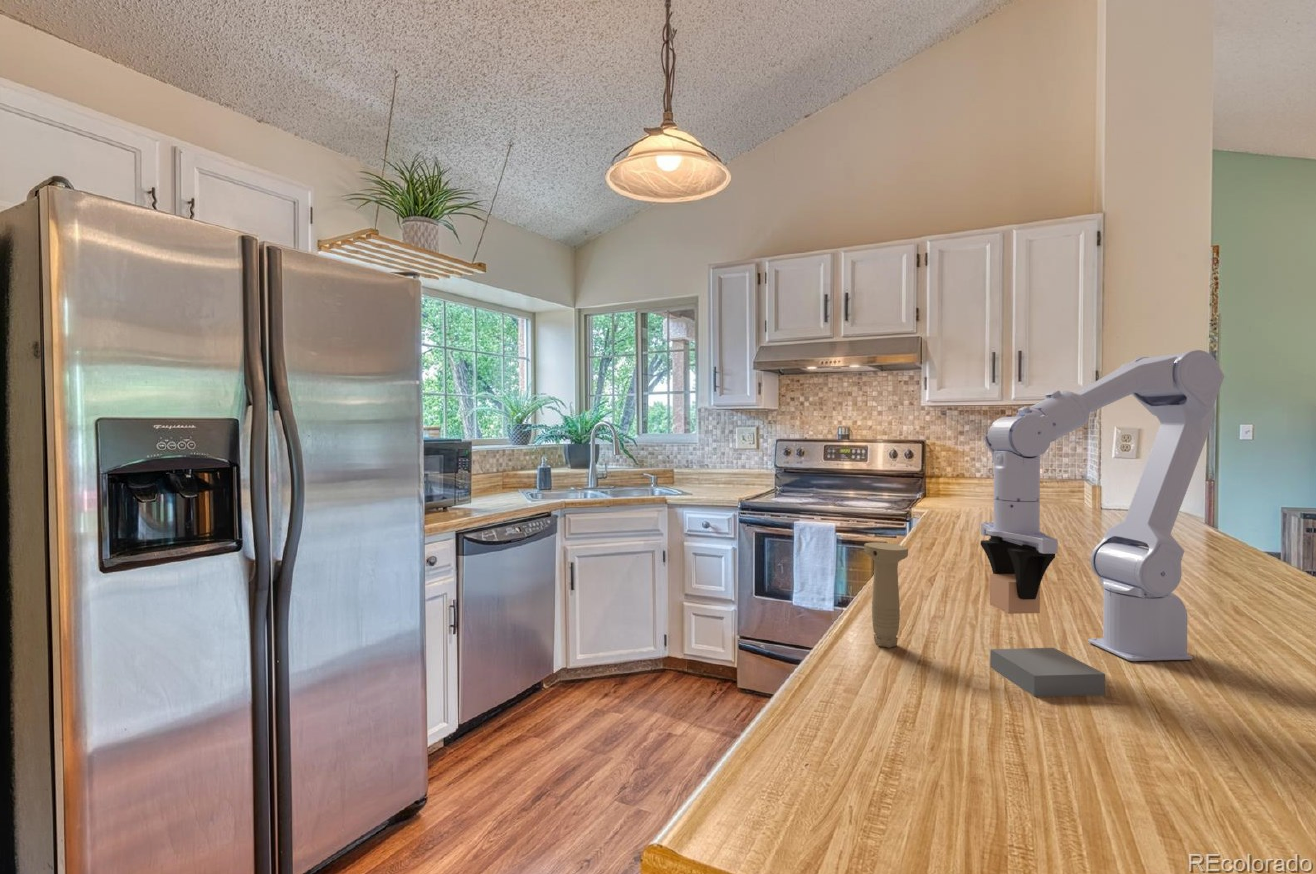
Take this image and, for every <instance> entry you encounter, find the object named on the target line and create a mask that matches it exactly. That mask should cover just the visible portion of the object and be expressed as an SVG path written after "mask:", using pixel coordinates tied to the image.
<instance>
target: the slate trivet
mask: <svg viewBox="0 0 1316 874" xmlns="http://www.w3.org/2000/svg"><path fill="white" fill-rule="evenodd" d="M989 652H990V656H989V657H990V665H989V666H990V667H991V668H993V669H994V670H995V671H994V670H993V669H992V670H993V671H994V672H996V673H997V672H998V673H997V674H999V673H1000V674H1001V675H1000V674H999V675H1000V676H1002V677H1003V678H1005V679H1006V678H1007V679H1006V680H1008V681H1009V682H1011V683H1012V684H1014V685H1016V686H1017V687H1018V688H1021V690H1023V691H1025V692H1026V693H1028V694H1029V693H1030V694H1029V695H1031V694H1032V695H1033V697H1034V698H1036V697H1038V696H1039V697H1041V696H1042V697H1043V696H1044V697H1045V698H1046V697H1074V696H1075V697H1076V696H1077V697H1078V696H1079V697H1081V696H1105V695H1106V673H1104V672H1102V671H1100V670H1098V669H1096V668H1095V667H1093V666H1091V665H1089V664H1087V663H1085V662H1082V661H1081V660H1078V659H1077V658H1074V657H1072V655H1069V654H1067V653H1065V652H1063V651H1061V650H1059V649H1058V648H1055V647H1031V648H1029V647H1025V648H990V651H989ZM991 668H990V669H991ZM1032 695H1031V696H1032ZM1039 697H1038V698H1039ZM1044 697H1043V698H1044Z"/></svg>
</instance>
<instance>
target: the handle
mask: <svg viewBox="0 0 1316 874" xmlns="http://www.w3.org/2000/svg"><path fill="white" fill-rule="evenodd" d="M863 547H864V549H863V550H864V553H865V554H866V555H868V556H869V557H870V558H872V560H873V566H874V567H873V585H872V599H871V600H872V601H871V618H872V619H871V620H872V621H871V622H872V629H873V630H872V631H873V640H874V643H875V644H876V645H877V646H878V647H881V648H883V647H884V648H887V649H888V648H889V649H891V648H894V647H896V646H897V645H898V641H899V640H898V639H899V638H898V637H897V636H898V635H899V628H900V619H901V618H900V616H901V614H900V611H901V610H900V609H901V608H900V607H901V603H900V593H899V590H900V589H899V573H898V568H899V562H900V561H902V560H905V559H906V558H907V557H908V556H909V548H908V547H906V546H904V545H900V544H895V543H889V542H881V541H880V542H876V541H875V542H866V543H864V544H863Z"/></svg>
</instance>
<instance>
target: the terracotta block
mask: <svg viewBox="0 0 1316 874" xmlns="http://www.w3.org/2000/svg"><path fill="white" fill-rule="evenodd" d="M1040 596H1041V585H1040V586H1039V590H1038V593H1037V596H1036V599H1025V600H1023V599H1020V598H1019V597H1018V594H1017V587H1016V575H1015V574H993V573H989V605H990V606H992V607H994V608H996V609H998V610H1000V611H1002V612H1004V613H1006V614H1008V615H1009V614H1013V615H1014V614H1015V615H1016V614H1019V615H1020V614H1040V612H1041V603H1040V602H1041V597H1040Z"/></svg>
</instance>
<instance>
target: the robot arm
mask: <svg viewBox="0 0 1316 874" xmlns="http://www.w3.org/2000/svg"><path fill="white" fill-rule="evenodd" d="M1224 379H1225V375H1224V373H1223V371H1222V369H1221V367H1220V366H1219V364H1218V362H1217V361H1216V358H1215V357H1214V356H1213V355H1212V354H1211V353H1209V352H1208V351H1204V350H1200V349H1199V350H1198V349H1195V350H1193V349H1192V350H1189V351H1187V352H1181V353H1179V352H1178V353H1173V354H1165V355H1159V356H1158V355H1157V356H1151V357H1150V356H1141V357H1139V358H1136V359H1134V360H1132V361H1129V362H1126V363H1123V364H1121V365H1120V367H1118V368H1117V369H1115V370H1113V371H1111V372H1110V373H1108V374H1106V375H1105V376H1103V377H1101V378H1099V379H1097V380H1096V381H1094V382H1092V383H1091V384H1089V385H1087V386H1086V387H1084V388H1082V389H1080V390H1078V391H1076V392H1073V391H1069V390H1061V391H1060V390H1052V391H1049V392H1047V393H1046V394H1045V399H1043V400H1041V401H1039V402H1037V403H1035V404H1033V405H1030V406H1022V407H1020V408H1018V409H1017V411H1018V412H1017V413H1016V415H1015V416H1002V417H1000V418H997V419H996V420H994V421H993V422H992V424H991V426H990V427H989V429H988V432H987V434H985V435H984V441H985V444H986V447H987V449H988V450H989V451H990V454H991V457H992V459H991V461H992V462H991V463H993V521H991V522H980V536H983V537H986V536H987V537H988V536H989V537H990V538H989V539H988V540H987V539H983V540H980V546H981V548H982V549H983V551H984V552H985V555H986V556H987V559H988V562H989V563H990V564H989V565H990V567H991V570H992V574H1015V575H1016V587H1017V594H1018V597H1019V598H1020V599H1023V600H1025V599H1036V596H1037V593H1038V590H1039V586H1040V587H1041V583H1042V580H1043V577H1044V575H1045V574H1046V571H1047V569H1048V568H1049V566H1050V564H1051V563H1052V561H1054V559H1055V558H1056V554H1059V553H1058V548H1059V547H1058V544H1059V543H1058V542H1059V541H1058V538H1055V537H1051V536H1050V535H1048V534H1046V533H1044V532H1042V531H1040V529H1041V528H1040V525H1041V524H1040V523H1041V522H1040V519H1041V518H1040V517H1041V515H1040V511H1041V510H1040V509H1041V508H1040V506H1041V504H1040V501H1041V499H1040V498H1041V494H1040V493H1041V487H1040V486H1041V485H1040V484H1041V455H1044V454H1045V453H1046V452H1047V451H1048V449H1049V447H1050V446H1051V443H1052V442H1054V441H1056V440H1059V439H1060V438H1062V437H1064V436H1066V435H1068V434H1070V433H1072V432H1074V431H1076V430H1079V429H1080V428H1082V427H1083V426H1085V425H1086V424H1088V422H1089V420H1090V417H1091V416H1090V415H1091V413H1093V412H1095V411H1097V410H1099V409H1102V408H1103V407H1106V406H1108V405H1110V404H1113V403H1114V402H1117V401H1119V400H1122V399H1124V398H1126V397H1128V396H1130V395H1132V396H1133V397H1134V398H1135V399H1136V400H1137V402H1139V403H1140V404H1141V405H1142V406H1143V407H1144V408H1145V409H1147V410H1148V412H1149V413H1150V414H1151V415H1153V416H1155V417H1156V418H1157V419H1158V421H1159V422H1160V426H1159V428H1158V430H1157V434H1156V435H1155V439H1154V441H1153V443H1152V447H1151V450H1150V453H1149V454H1148V457H1147V460H1146V463H1145V466H1144V468H1143V470H1142V473H1141V476H1140V478H1139V482H1138V484H1137V486H1136V489H1135V491H1134V494H1133V497H1132V500H1131V502H1130V505H1129V507H1128V510H1127V513H1126V516H1125V518H1124V520H1122V521H1120V522H1119V523H1117V524H1115V525H1113V526H1112V527H1110V528H1108V529H1106V532H1105V534H1104V536H1103V538H1102V540H1101V541H1099V543H1097V545H1096V546H1095V547H1094V548H1093V550H1092V552H1091V554H1090V567H1091V570H1092V572H1093V573H1094V574H1095V575H1096V577H1098V578H1099V585H1100V586H1103V592H1102V593H1103V598H1102V600H1103V603H1102V604H1103V605H1102V606H1103V609H1102V610H1103V612H1102V614H1103V616H1102V637H1101V638H1098V637H1097V638H1088V639H1087V642H1088V643H1089V644H1092V645H1093V646H1096V647H1098V648H1101V649H1102V650H1105V651H1107V652H1110V653H1112V654H1114V655H1116V656H1118V657H1120V658H1123V659H1124V660H1127V661H1130V662H1138V661H1139V662H1141V661H1142V662H1144V661H1145V662H1147V661H1183V660H1193V658H1194V657H1193V656H1192V655H1191V654H1188V611H1187V608H1186V605H1185V604H1184V602H1183V601H1182V599H1181V598H1180V597H1179V596H1178V595H1177V594H1176V593H1174V591H1175V590H1176V589H1177V588H1178V587H1179V584H1180V583H1181V579H1182V575H1183V573H1182V560H1183V556H1184V553H1185V550H1184V548H1183V547H1182V546H1181V545H1180V543H1179V542H1178V541H1177V540H1176V539H1175V538H1174V536H1173V535H1172V534H1171V533H1172V532H1173V529H1174V526H1175V523H1176V520H1177V518H1178V516H1179V513H1180V510H1181V507H1182V505H1183V502H1184V499H1185V497H1186V494H1187V491H1188V488H1189V486H1190V483H1191V480H1192V478H1193V475H1194V472H1195V470H1196V467H1197V465H1198V462H1199V459H1200V456H1201V454H1202V451H1203V448H1204V446H1205V443H1206V441H1207V438H1208V435H1209V433H1210V430H1211V427H1212V424H1213V420H1214V411H1215V410H1214V406H1215V403H1216V400H1217V398H1218V395H1219V392H1220V390H1221V387H1222V384H1223V381H1224Z"/></svg>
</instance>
